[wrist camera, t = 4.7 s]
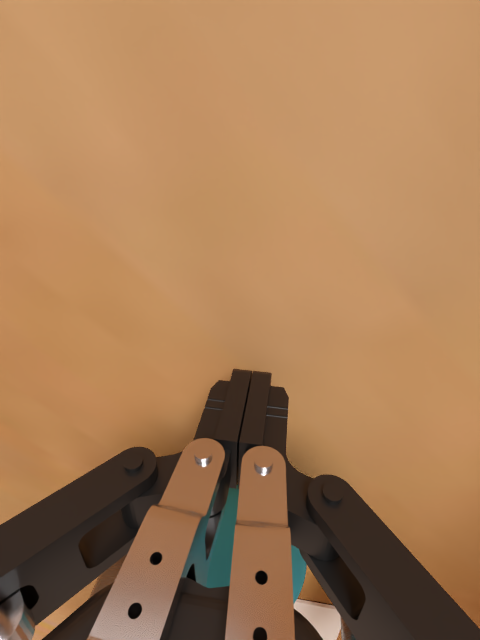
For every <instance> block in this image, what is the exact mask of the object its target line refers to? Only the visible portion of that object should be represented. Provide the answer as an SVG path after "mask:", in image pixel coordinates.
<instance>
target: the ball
mask: <svg viewBox="0 0 480 640" xmlns="http://www.w3.org/2000/svg"><path fill="white" fill-rule="evenodd" d="M238 497H239V489H238V485H237V487H236V489H235V488H229V491H228V496H227V501H226V504H225V511H224V515H223V518H222V522H221V525H220V529H219V533H218V536H217V540H216V543H215V547H214V550H213V554H212V558H211V561H210V565H209V569H208V575H207V583H206V587H207V588H216V587H225V586H230V577H231V566H232V555H233V544H234V533H235V524H236V519H237V509H238ZM291 556H292V580H293V604H294V603H295V602H296V600H297V598H298V596H299V594H300V591H301V589H302V586H303V583H304V579H305V574H306V565H307V564H306V562H305V561H304V559H303V558H302V556H301V554H300V551H299V549H298V548H296V547H294V546H293V545H291Z"/></svg>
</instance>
